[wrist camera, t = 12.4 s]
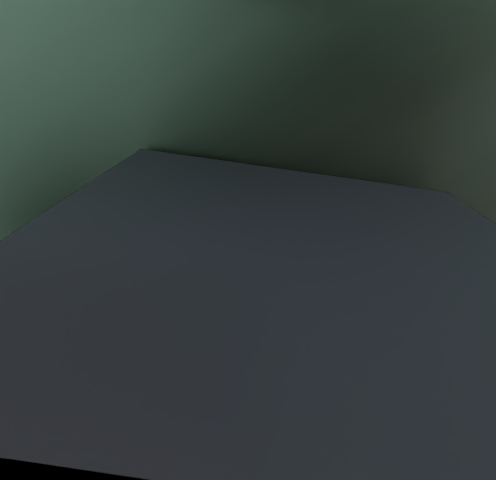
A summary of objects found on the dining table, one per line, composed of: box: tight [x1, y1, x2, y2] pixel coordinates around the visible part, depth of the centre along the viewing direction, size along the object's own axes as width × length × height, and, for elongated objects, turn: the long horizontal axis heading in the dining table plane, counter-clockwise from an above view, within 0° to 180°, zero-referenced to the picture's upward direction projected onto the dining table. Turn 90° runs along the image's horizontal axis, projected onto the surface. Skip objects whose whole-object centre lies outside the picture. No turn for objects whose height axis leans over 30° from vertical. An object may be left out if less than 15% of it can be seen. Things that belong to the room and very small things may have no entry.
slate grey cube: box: [0, 149, 496, 480], centre depth 7 cm, size 8×8×9 cm
